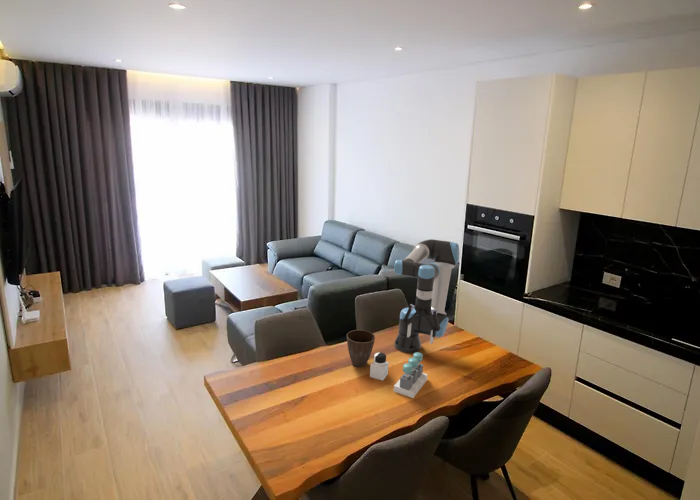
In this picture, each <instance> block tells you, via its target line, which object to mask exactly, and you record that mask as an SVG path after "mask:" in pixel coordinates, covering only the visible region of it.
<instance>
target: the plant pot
mask: <svg viewBox="0 0 700 500" xmlns="http://www.w3.org/2000/svg"><path fill="white" fill-rule="evenodd" d="M375 340H376V335H375V334H374V333H372V332H370V331H367V330H365V329H364V330H363V329H354V330H351V331H349V332H348V333H346V342H347V350H348V353H349V357H350V358H349V359H350V361H351V364H352V365H353V366H354V367H356V368H364V367H365V366H366V365H367V363H368V361H369V359H370V357H371V354H372V351H373V348H374V344H375Z"/></svg>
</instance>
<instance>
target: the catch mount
mask: <svg viewBox="0 0 700 500" xmlns="http://www.w3.org/2000/svg"><path fill="white" fill-rule="evenodd" d="M404 377H405V372H403V374H402V375H401V376H400V378H399V379H398V381H397V382H396V383H395V384H394V385H393V392H394V393H397V394H400V395H402V396H405V397H409V398H410V399H411V398H412V399H414V398H415V396H416V395H417V394H418V393H419V391H420V390H421V389H422V387H423V386H424V385H425V384H426V382H427V380H428V377H429V376H428V374H427V373H424V364H423V363H420V366H419V367H415V373H410V379H406V378H404Z"/></svg>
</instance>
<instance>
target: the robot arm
mask: <svg viewBox="0 0 700 500" xmlns="http://www.w3.org/2000/svg"><path fill="white" fill-rule="evenodd" d="M426 259H427V260H433V261H434V262H429V263H428V264H427V263H422V262H423V261H424V260H426ZM459 261H460V246H459V244H458V243H457V242H453V241H447V240H441V239H439V240H437V239H433V238H432V239H426V240H423V241H420V242H418V243H417V244H415V245H414V247H413V249H412V251H411V252H410V253H409V254H408V255H407V256H406V257H405V258H404V259H403V260H402V259H396V260H395V262H394V264H393V273H394V274H395V275H399V276H403V277H408V278H416V279H417V285H416V297H415V305H414V304H413V303H410V304H409V305H408V307H404V308H402V310H401V311H400V314H399V322H398V324H399V325H398V332H397V333H398V334H397V335H396V338H395V340H394V348H395V349H397V350H398V351H400V352H403V353H413V354H414V353H416V352H420V350H421V347H422V343H421V339H420V334H422V335H426V336H430V338H429V344H430V345H432V344H433V343H434V338H436V337H437V338H442V337H444V335H445V333H446V331H447V328H448V325H449V320H450V319H449V317H448V316H447V313H446V311H445V310H446V309H445V308H446V303H447V297H448V291H449V286H450V281H451V276H452V269H454V268H455V267H456V265H457V264H459Z"/></svg>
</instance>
